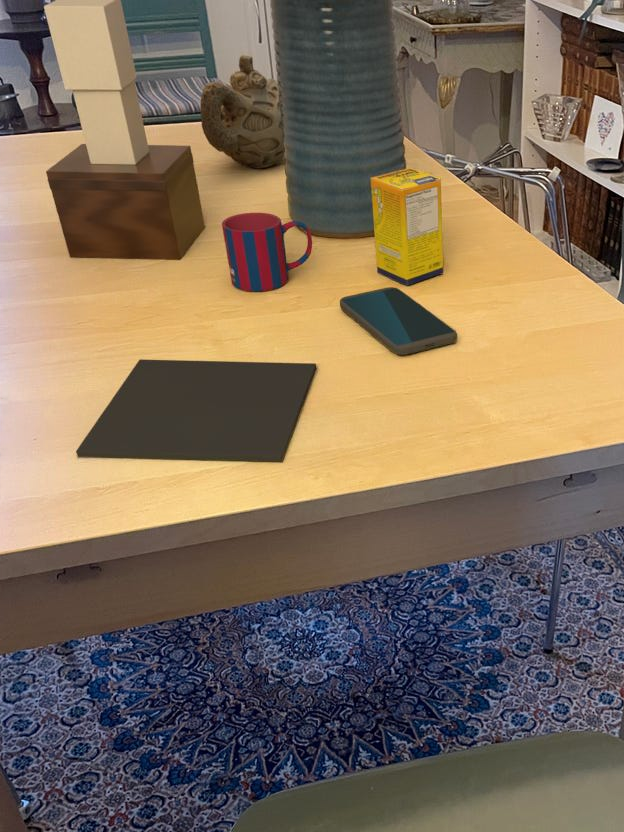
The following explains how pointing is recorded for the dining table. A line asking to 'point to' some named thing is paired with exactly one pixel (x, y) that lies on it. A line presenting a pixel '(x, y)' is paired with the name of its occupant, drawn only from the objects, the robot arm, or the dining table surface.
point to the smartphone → (398, 320)
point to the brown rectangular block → (128, 204)
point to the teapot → (244, 117)
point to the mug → (259, 251)
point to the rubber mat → (202, 411)
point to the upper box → (91, 44)
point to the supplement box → (407, 225)
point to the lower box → (112, 125)
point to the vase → (337, 109)
